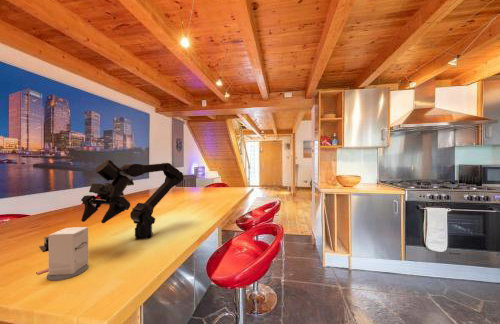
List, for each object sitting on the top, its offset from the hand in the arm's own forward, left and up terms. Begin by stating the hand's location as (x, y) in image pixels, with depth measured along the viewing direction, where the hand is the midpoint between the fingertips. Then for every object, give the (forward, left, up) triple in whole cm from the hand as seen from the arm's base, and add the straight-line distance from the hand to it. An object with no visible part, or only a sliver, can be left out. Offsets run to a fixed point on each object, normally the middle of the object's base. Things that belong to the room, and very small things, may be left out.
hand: (92, 222), depth 78 cm
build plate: (+22, -17, -14) cm, 31 cm away
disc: (+3, +9, -13) cm, 16 cm away
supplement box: (+3, +9, -13) cm, 16 cm away
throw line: (+9, +4, -13) cm, 16 cm away
